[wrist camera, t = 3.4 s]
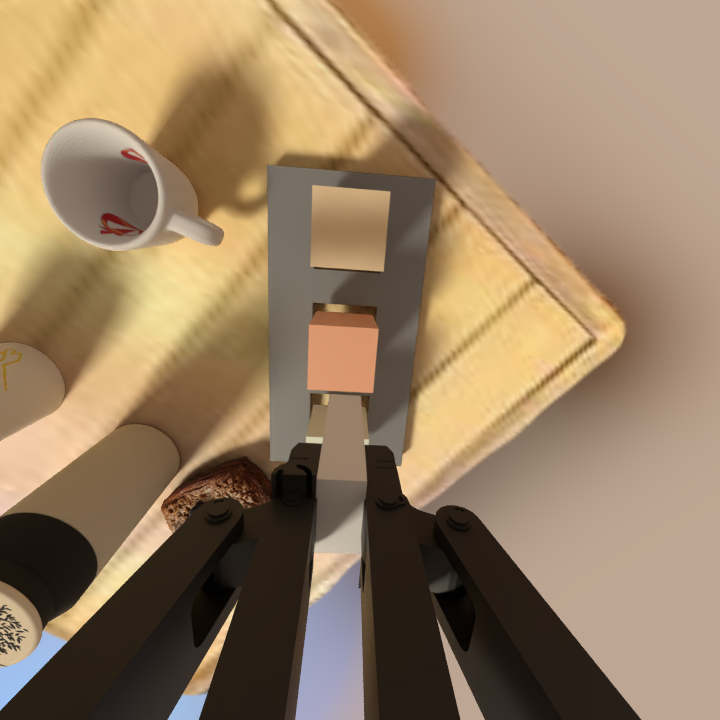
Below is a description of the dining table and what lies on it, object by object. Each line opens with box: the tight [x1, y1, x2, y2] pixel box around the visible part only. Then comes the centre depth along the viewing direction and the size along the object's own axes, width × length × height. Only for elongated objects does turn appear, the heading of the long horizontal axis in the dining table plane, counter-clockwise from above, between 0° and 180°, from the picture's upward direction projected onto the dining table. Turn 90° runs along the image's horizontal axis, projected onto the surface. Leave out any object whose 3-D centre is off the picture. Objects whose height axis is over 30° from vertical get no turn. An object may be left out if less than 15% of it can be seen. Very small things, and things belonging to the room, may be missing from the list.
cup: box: [41, 118, 224, 251], centre depth 26 cm, size 11×8×8 cm
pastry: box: [161, 456, 272, 533], centre depth 37 cm, size 11×12×6 cm
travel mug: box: [0, 424, 180, 668], centre depth 29 cm, size 8×8×18 cm
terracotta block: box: [307, 311, 379, 393], centre depth 28 cm, size 5×5×6 cm
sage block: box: [306, 405, 369, 445], centre depth 31 cm, size 5×5×6 cm
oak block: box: [310, 185, 390, 272], centre depth 25 cm, size 5×5×6 cm
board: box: [267, 165, 436, 466], centre depth 33 cm, size 28×14×2 cm, turn 176°
